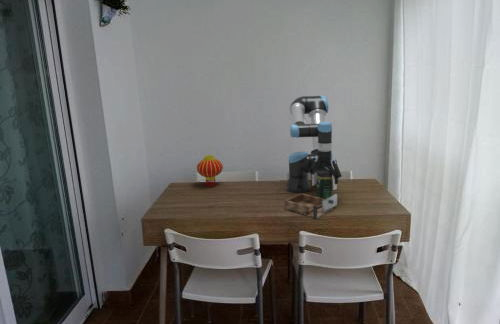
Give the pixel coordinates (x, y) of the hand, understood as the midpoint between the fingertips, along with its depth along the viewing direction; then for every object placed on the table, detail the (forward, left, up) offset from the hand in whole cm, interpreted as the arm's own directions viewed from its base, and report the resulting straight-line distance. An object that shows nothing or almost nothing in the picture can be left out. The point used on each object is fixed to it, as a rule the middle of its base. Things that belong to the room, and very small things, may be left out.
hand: (324, 187), depth 204 cm
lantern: (-75, -21, -8) cm, 78 cm away
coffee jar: (0, 0, -8) cm, 8 cm away
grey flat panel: (+11, -11, -7) cm, 17 cm away
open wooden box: (+1, -17, -8) cm, 19 cm away
